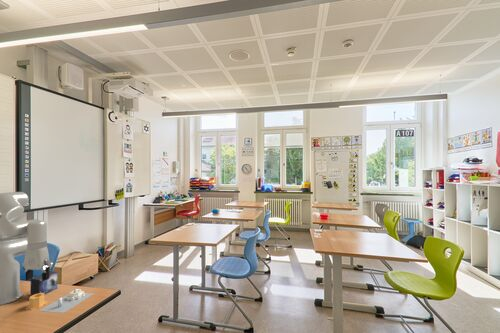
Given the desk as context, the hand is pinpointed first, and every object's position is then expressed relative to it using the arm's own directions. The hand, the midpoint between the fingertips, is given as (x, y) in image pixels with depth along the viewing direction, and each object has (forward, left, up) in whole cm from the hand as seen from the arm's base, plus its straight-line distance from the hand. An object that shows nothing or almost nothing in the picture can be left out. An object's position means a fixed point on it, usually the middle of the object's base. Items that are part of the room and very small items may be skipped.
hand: (37, 279), depth 120 cm
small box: (-11, +13, -15) cm, 23 cm away
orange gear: (0, 0, -14) cm, 14 cm away
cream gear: (+13, +10, -13) cm, 20 cm away
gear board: (+12, +5, -14) cm, 20 cm away
